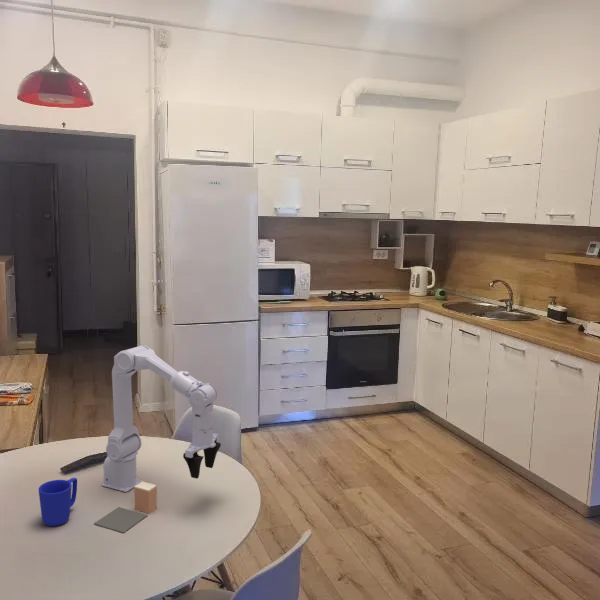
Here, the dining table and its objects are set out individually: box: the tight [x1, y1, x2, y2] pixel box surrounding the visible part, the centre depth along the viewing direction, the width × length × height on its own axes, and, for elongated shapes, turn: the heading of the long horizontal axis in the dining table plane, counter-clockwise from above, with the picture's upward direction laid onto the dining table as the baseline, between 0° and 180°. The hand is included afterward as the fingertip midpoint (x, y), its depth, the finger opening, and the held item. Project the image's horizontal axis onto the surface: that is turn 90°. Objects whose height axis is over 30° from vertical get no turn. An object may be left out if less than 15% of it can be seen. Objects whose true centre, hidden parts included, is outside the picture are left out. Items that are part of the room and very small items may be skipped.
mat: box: [93, 506, 149, 534], centre depth 160 cm, size 10×10×1 cm
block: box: [133, 480, 158, 515], centre depth 166 cm, size 5×4×7 cm
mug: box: [38, 477, 78, 527], centre depth 159 cm, size 8×12×10 cm
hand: (202, 472), depth 168 cm, fingers open, 7 cm apart
